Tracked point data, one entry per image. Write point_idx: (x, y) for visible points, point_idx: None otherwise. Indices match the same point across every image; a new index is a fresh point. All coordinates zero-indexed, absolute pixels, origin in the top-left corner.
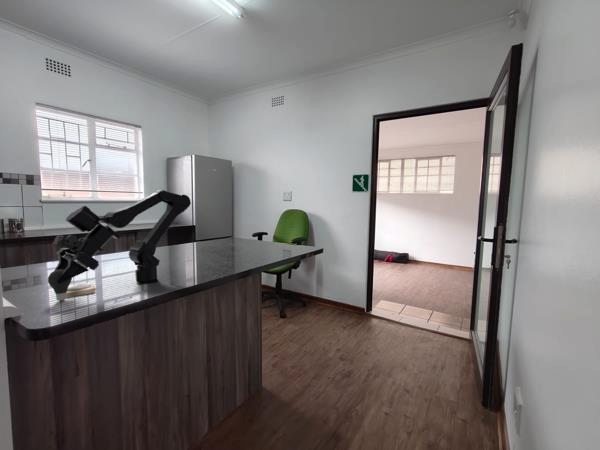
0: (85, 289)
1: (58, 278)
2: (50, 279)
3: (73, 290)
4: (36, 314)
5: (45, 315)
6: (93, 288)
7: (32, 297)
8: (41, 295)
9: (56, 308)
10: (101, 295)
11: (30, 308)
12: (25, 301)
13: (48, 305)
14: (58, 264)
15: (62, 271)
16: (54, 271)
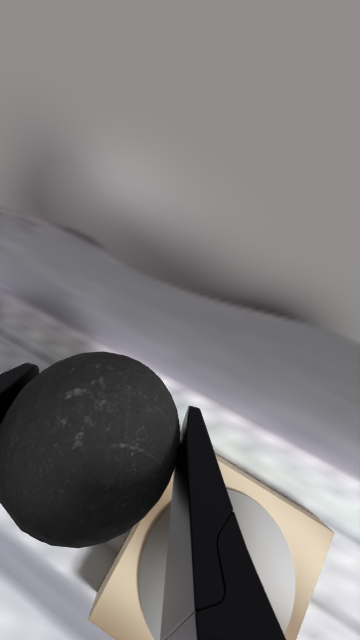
0: (124, 568)
1: (9, 378)
2: (85, 353)
3: (165, 512)
4: (59, 273)
5: (12, 278)
6: (93, 611)
7: (332, 393)
8: (331, 429)
9: (49, 340)
10: (5, 567)
11: (161, 303)
12: (290, 347)
13: (127, 351)
14: (242, 590)
15: (3, 452)
16: (72, 401)
